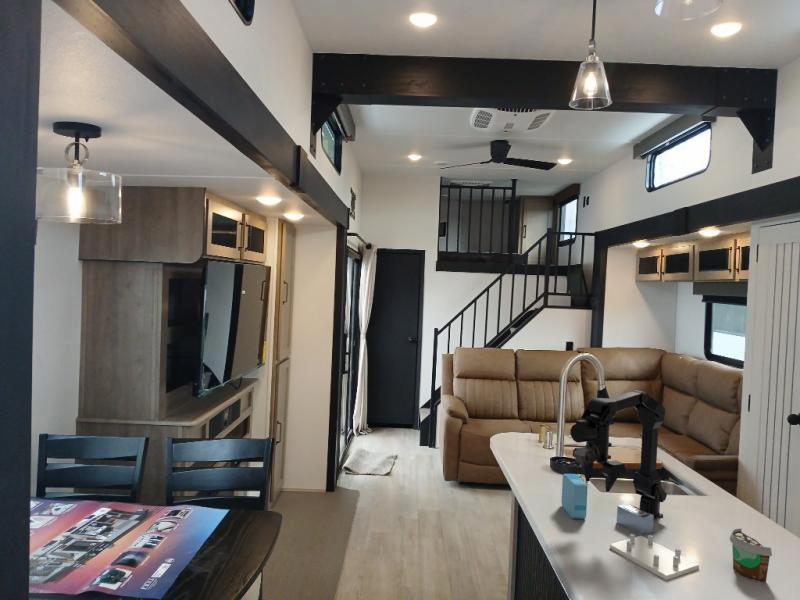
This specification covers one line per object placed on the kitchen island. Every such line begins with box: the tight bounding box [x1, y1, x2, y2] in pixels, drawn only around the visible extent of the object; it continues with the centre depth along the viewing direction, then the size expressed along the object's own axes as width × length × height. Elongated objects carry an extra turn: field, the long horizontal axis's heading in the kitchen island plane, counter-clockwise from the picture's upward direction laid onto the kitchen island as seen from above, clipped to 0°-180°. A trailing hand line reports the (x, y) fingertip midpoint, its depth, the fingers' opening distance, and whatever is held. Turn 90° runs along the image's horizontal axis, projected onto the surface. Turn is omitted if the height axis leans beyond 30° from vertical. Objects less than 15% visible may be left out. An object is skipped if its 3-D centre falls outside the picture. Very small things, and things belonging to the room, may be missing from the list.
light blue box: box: [561, 473, 588, 520], centre depth 188 cm, size 12×4×12 cm, turn 2°
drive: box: [616, 503, 654, 537], centre depth 178 cm, size 5×10×6 cm, turn 28°
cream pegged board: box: [609, 533, 700, 581], centre depth 158 cm, size 14×19×4 cm
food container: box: [729, 528, 773, 583], centre depth 152 cm, size 12×6×10 cm, turn 5°
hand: (597, 486), depth 176 cm, fingers open, 9 cm apart
